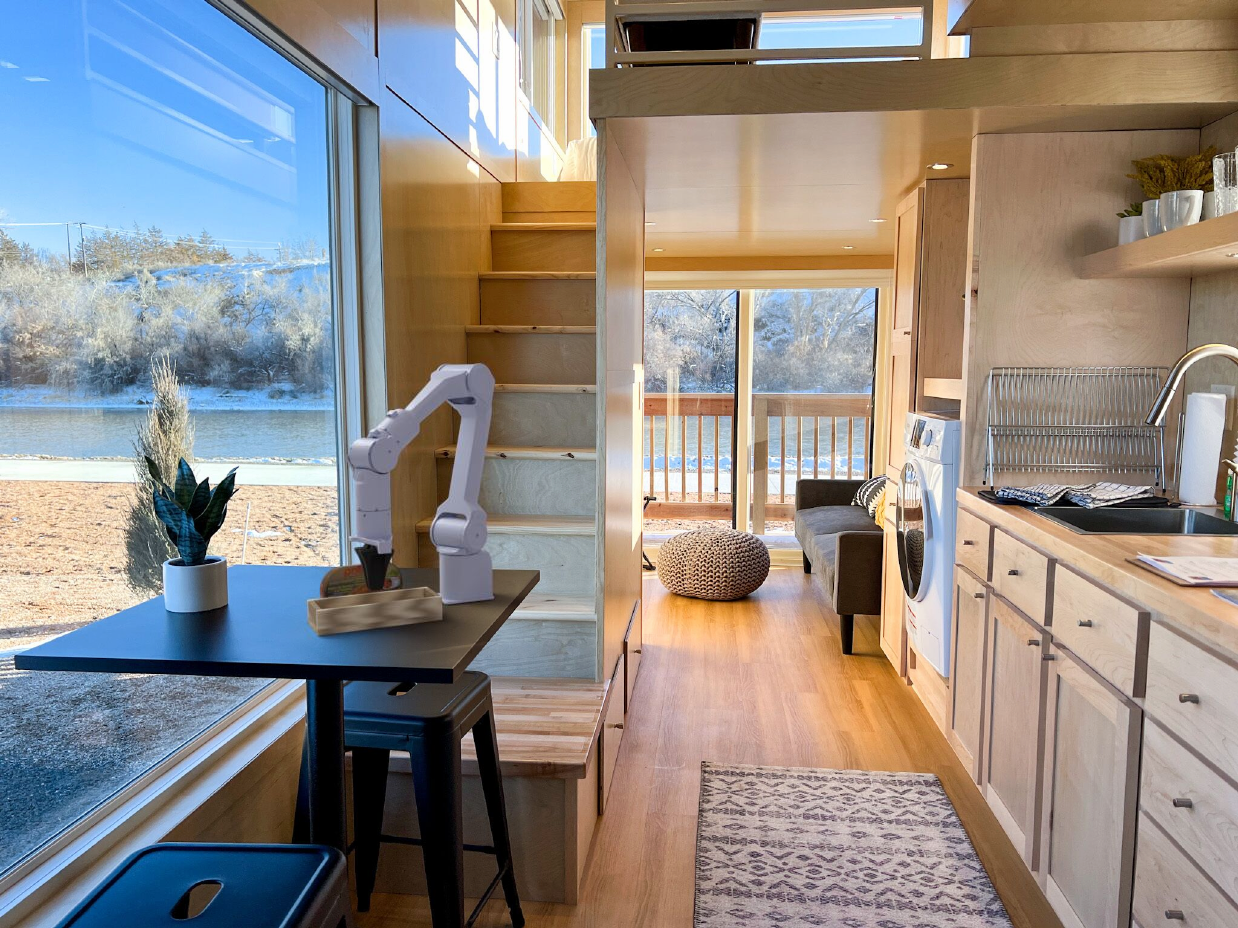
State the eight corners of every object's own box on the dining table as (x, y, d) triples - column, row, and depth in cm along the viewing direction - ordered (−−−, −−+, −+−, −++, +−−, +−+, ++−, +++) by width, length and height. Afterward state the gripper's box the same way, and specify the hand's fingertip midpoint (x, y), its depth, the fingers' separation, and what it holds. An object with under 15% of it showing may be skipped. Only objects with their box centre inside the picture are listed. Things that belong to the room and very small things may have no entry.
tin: (325, 617, 154) (324, 569, 154) (317, 614, 157) (316, 566, 156) (404, 603, 164) (403, 558, 164) (395, 600, 167) (395, 556, 166)
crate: (427, 608, 161) (426, 586, 160) (442, 619, 153) (442, 596, 153) (307, 623, 151) (307, 599, 150) (317, 635, 143) (317, 611, 143)
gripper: (339, 505, 155) (341, 582, 156) (359, 516, 142) (361, 600, 143) (380, 503, 158) (381, 578, 159) (403, 513, 145) (404, 595, 147)
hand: (375, 588), depth 151 cm, fingers closed
